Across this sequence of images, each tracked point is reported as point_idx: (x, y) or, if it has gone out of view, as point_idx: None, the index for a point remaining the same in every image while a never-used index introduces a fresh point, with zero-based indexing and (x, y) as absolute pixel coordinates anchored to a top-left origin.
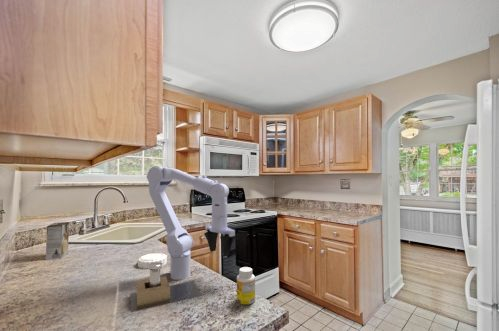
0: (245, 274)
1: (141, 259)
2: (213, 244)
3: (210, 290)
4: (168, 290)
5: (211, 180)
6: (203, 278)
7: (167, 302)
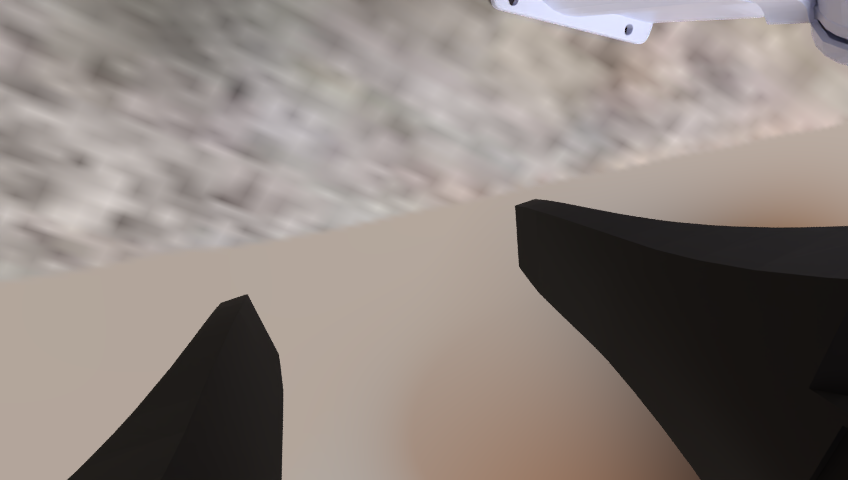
0: None
1: None
2: (579, 285)
3: (231, 40)
4: None
5: None
6: (468, 94)
7: None
